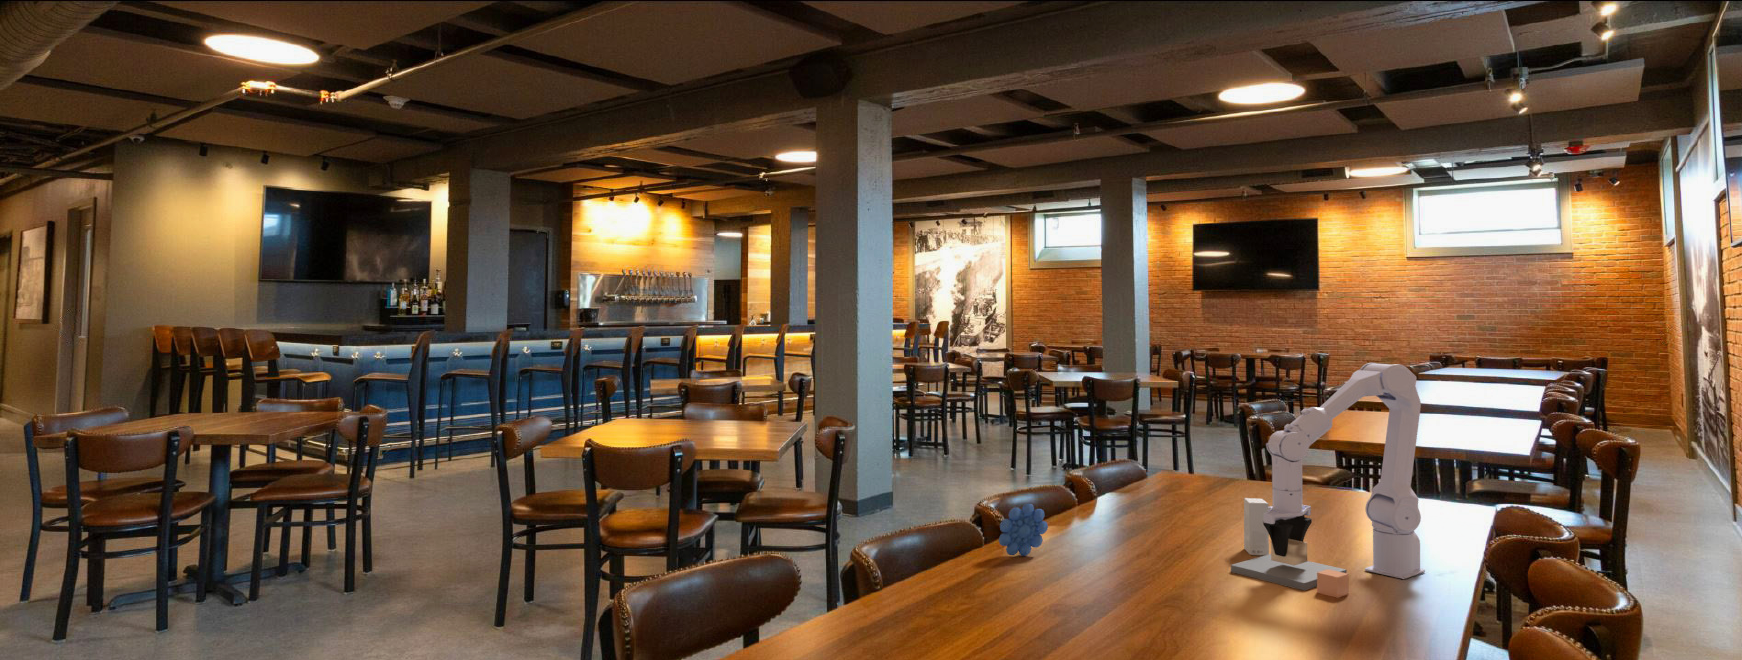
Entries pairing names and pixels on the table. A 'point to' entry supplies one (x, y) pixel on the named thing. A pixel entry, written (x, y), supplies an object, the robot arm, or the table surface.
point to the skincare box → (1255, 527)
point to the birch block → (1292, 553)
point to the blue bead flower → (1023, 530)
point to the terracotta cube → (1332, 583)
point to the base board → (1283, 572)
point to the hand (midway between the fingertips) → (1287, 553)
